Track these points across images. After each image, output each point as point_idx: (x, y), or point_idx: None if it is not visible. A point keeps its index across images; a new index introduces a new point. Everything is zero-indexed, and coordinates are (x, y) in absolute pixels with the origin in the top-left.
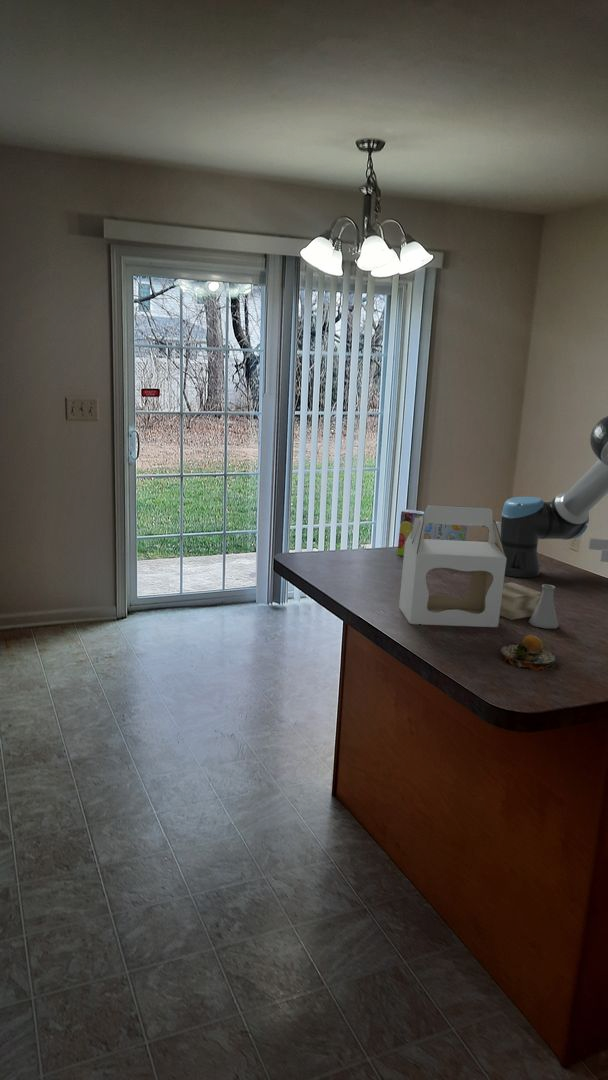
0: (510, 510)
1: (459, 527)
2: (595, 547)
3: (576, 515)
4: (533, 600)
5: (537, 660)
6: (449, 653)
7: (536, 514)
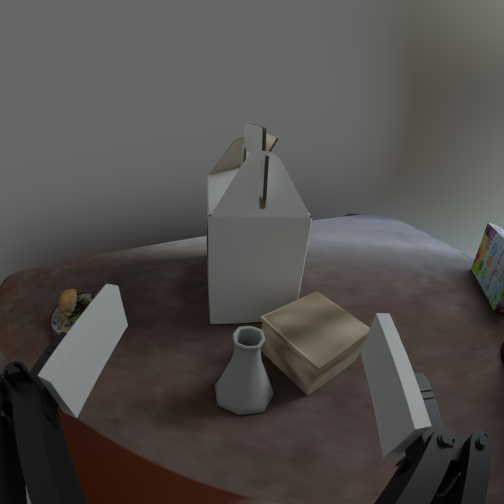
0: None
1: None
2: (368, 365)
3: None
4: (299, 361)
5: (72, 324)
6: (117, 267)
7: None
